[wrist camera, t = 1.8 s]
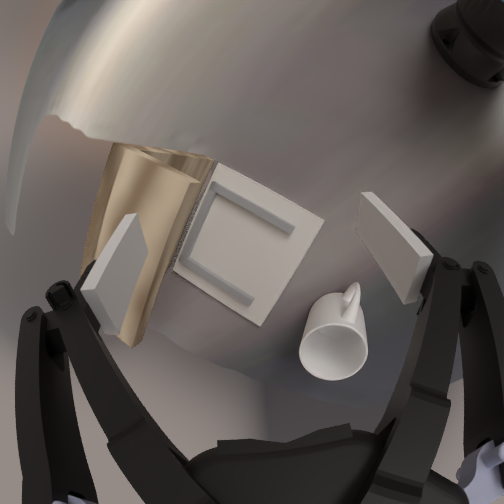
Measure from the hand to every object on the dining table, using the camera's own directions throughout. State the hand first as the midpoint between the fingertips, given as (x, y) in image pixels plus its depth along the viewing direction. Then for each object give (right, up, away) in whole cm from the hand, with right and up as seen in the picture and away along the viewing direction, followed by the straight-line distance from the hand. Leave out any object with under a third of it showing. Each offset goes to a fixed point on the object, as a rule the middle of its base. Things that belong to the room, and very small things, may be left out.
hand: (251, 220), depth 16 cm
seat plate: (-2, -1, +28) cm, 28 cm away
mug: (+14, -10, +25) cm, 30 cm away
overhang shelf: (-8, +3, +29) cm, 30 cm away
